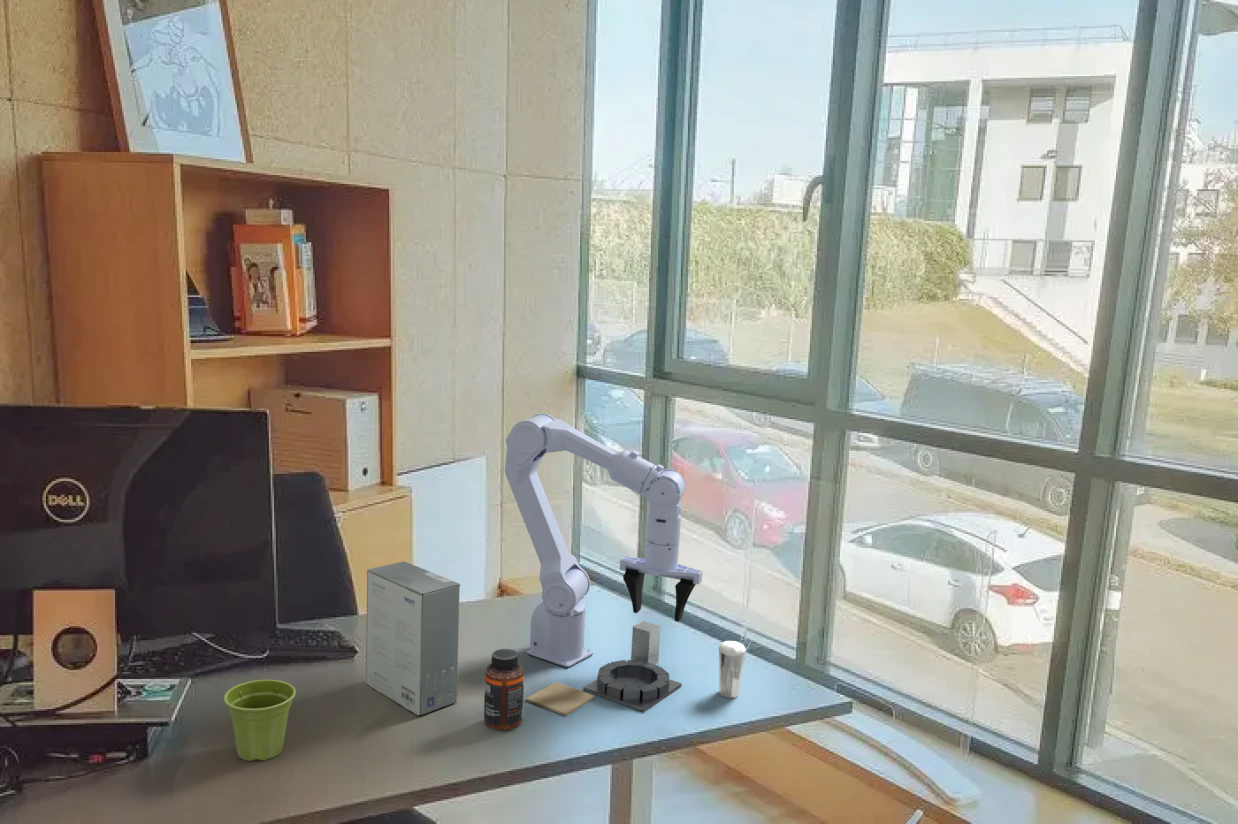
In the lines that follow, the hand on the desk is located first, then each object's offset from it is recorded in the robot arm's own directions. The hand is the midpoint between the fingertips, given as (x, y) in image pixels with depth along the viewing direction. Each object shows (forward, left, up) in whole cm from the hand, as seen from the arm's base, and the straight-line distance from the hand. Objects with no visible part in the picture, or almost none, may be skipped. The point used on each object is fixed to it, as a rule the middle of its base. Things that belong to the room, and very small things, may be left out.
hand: (657, 615), depth 167 cm
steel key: (-3, +2, -10) cm, 11 cm away
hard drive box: (-26, -33, -11) cm, 44 cm away
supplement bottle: (-8, -31, -10) cm, 34 cm away
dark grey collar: (+1, -8, -10) cm, 13 cm away
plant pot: (-29, -59, -11) cm, 67 cm away
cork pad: (-6, -19, -10) cm, 23 cm away
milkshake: (+15, +1, -10) cm, 18 cm away
